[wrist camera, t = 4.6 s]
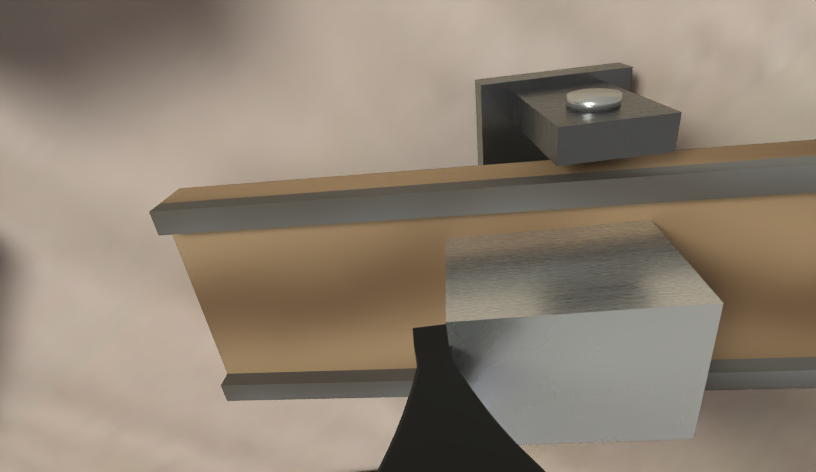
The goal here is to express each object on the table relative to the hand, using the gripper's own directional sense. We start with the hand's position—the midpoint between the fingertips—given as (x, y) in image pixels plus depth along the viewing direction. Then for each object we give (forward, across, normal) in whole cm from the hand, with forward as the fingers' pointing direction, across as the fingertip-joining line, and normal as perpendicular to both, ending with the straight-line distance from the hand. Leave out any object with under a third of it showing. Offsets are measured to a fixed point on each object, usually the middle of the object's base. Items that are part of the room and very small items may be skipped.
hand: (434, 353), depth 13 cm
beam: (+3, -5, 0) cm, 6 cm away
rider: (+2, -4, 0) cm, 5 cm away
